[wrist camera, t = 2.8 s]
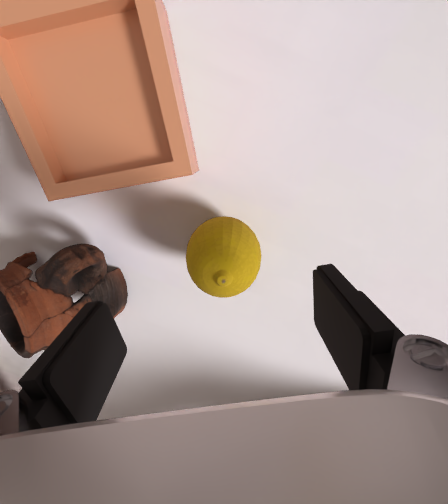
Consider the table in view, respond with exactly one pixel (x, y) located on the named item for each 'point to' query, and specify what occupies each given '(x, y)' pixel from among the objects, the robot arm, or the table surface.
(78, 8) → the orange square tray
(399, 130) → the table surface
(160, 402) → the table surface
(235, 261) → the lemon
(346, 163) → the table surface
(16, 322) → the pottery mug
